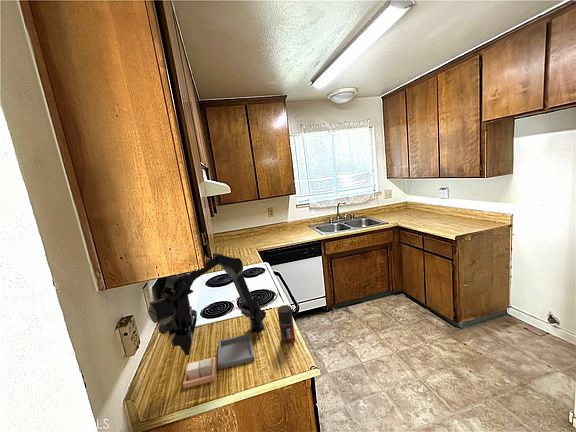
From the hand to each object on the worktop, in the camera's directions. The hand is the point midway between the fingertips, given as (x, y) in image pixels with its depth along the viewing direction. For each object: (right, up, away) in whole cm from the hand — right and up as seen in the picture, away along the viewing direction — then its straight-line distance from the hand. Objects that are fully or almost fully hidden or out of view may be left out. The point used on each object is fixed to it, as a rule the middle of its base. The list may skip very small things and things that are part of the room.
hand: (189, 347), depth 100 cm
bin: (+15, -9, +13) cm, 22 cm away
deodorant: (+37, -6, +17) cm, 41 cm away
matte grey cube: (+6, -11, +3) cm, 13 cm away
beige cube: (+1, -12, +2) cm, 12 cm away
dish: (+3, -12, +3) cm, 13 cm away
